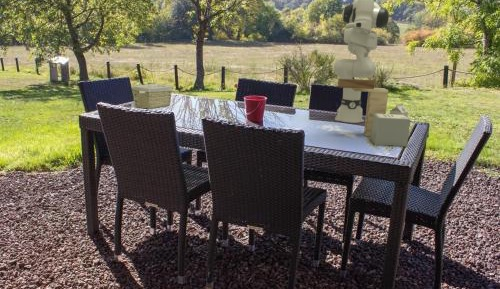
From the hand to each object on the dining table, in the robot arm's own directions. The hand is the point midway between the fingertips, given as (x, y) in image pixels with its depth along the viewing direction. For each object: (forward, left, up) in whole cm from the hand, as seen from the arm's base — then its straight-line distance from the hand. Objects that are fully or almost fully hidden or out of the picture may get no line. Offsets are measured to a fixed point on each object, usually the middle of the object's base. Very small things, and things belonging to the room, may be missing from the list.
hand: (359, 55), depth 233 cm
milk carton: (-14, +27, -45) cm, 54 cm away
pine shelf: (-18, +12, -45) cm, 49 cm away
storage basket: (-75, -125, -45) cm, 153 cm away
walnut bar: (-18, +3, -19) cm, 26 cm away
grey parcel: (-1, +20, -45) cm, 49 cm away
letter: (-1, +20, -31) cm, 36 cm away
